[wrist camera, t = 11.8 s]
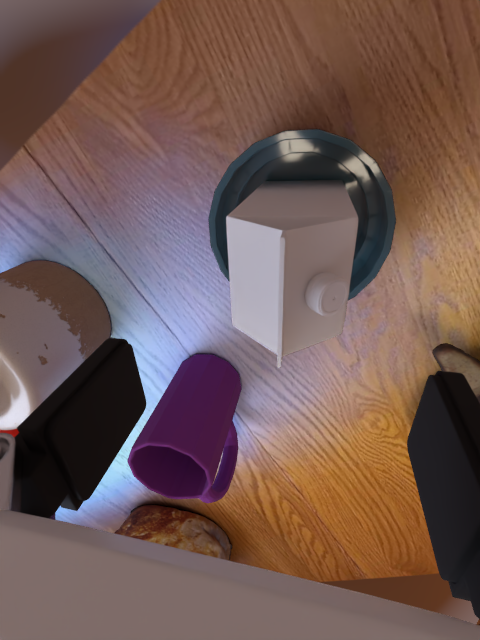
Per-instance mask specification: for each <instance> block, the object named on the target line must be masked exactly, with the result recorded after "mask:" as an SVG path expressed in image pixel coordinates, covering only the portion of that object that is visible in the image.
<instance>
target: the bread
mask: <svg viewBox="0 0 480 640" xmlns="http://www.w3.org/2000/svg"><path fill="white" fill-rule="evenodd" d="M114 534H118V535H123V536H127V537H131V538H136V539H140V540H144V541H148V542H153V543H157V544H161V545H165V546H169V547H174V548H178V549H182V550H186V551H190V552H195V553H199V554H203V555H207V556H211V557H215V558H220V559H224V560H228V561H229V560H230V555H231V554H230V553H231V551H230V549H232V545H231V544H229V538H228V537H227V536H226V534H225V533H224V531H223V530H222V529H221V528H220V527H218V526H217V525H216V524H215V523H214V522H212V521H210V520H208V519H207V518H205V517H203V516H200V515H198V514H194V513H191V512H187V511H180V510H178V509H175V508H171V507H164V506H157V505H145V506H141V507H137V508H135V509H133V510H132V511H131V514H130V516H129V517H128V518H127V520H126V521H125V522H124V523H123V525H122V526H121V527H120V529H119V530H117V531H116V532H115V533H114Z"/></svg>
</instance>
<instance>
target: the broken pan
mask: <svg viewBox="0 0 480 640" xmlns="http://www.w3.org/2000/svg"><path fill="white" fill-rule="evenodd" d="M432 352H433V355H434V357H435V359H436V360H437V362H438V364H439V365H440V367H441V370H442V371H447V372H457V373H462V374H463V375H464V376H465V378H466V379H467V381H468V383H469V385H470V387H471V388H472V390H473V392H474V394H475V396H476V397H477V399H478V401H479V403H480V361H478V360H477V359H475V358H474V357H472V356H470V355H469V354H467V353H465V352H464V351H462V350H461V349H459V348H457V347H455V346H453V345H451V344H448V343H444V344H440V345H439V346H437V347H436V348H435V349H434V350H433V351H432Z"/></svg>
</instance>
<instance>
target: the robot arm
mask: <svg viewBox="0 0 480 640" xmlns="http://www.w3.org/2000/svg"><path fill="white" fill-rule="evenodd" d="M145 408H146V399H145V395H144V391H143V387H142V383H141V379H140V375H139V371H138V368H137V364H136V360H135V356H134V352H133V348H132V346H131V345H130V344H128V342H127V341H126V340H125V339H116V338H108V339H106V340H105V341H104V342H103V343H102V344H101V345H100V346H99V347H98V348H97V349H96V350H95V351H94V352H93V353H92V354H91V355H90V356H89V357H88V358H87V359H86V360H85V361H84V362H83V363H82V364H81V365H80V366H79V367H78V368H77V369H76V370H75V371H74V372H73V373H72V374H71V375H70V376H69V377H68V378H67V379H66V380H65V381H64V382H63V383H62V384H61V385H60V386H59V387H58V388H57V389H56V390H54V391H53V392H52V393H51V394H50V395H49V396H48V397H47V398H46V399H45V400H44V401H43V402H42V403H41V404H40V405H39V406H38V407H37V408H36V409H35V410H34V411H33V412H32V413H31V414H30V415H29V416H28V417H27V418H26V419H25V420H24V421H23V422H22V423H21V424H20V425H19V426H18V427H17V430H18V431H19V433H18V434H17V435H16V436H15V437H13V436H12V435H11V434H8V433H0V640H480V403H479V401H478V399H477V397H476V396H475V394H474V392H473V390H472V388H471V387H470V385H469V383H468V381H467V379H466V378H465V376H464V375H463V374H462V373H457V372H447V371H437V373H436V374H435V375H430V376H429V377H428V379H427V382H426V385H425V388H424V391H423V394H422V397H421V400H420V403H419V406H418V409H417V412H416V415H415V418H414V421H413V424H412V427H411V430H410V433H409V436H408V441H407V447H408V453H409V457H410V461H411V465H412V468H413V472H414V476H415V480H416V484H417V488H418V492H419V496H420V500H421V504H422V508H423V511H424V515H425V519H426V523H427V527H428V531H429V535H430V539H431V543H432V547H433V551H434V554H435V558H436V562H437V566H438V570H439V573H440V575H441V577H442V579H443V580H447V581H449V585H450V589H451V592H452V596H453V597H455V598H460V599H464V600H468V601H471V603H472V607H473V610H474V613H475V615H476V616H477V617H478V618H479V621H478V622H477V624H473V623H469V622H466V621H463V620H460V619H457V618H454V617H450V616H447V615H443V614H439V613H436V612H432V611H428V610H425V609H421V608H417V607H413V606H409V605H406V604H402V603H398V602H394V601H390V600H387V599H383V598H379V597H375V596H371V595H367V594H363V593H359V592H355V591H351V590H347V589H343V588H339V587H335V586H331V585H326V584H322V583H318V582H314V581H310V580H306V579H302V578H298V577H294V576H290V575H286V574H282V573H278V572H274V571H269V570H265V569H261V568H257V567H253V566H249V565H245V564H240V563H236V562H232V561H228V560H224V559H220V558H215V557H211V556H207V555H203V554H199V553H195V552H190V551H186V550H182V549H178V548H174V547H169V546H165V545H161V544H157V543H153V542H148V541H144V540H140V539H136V538H131V537H127V536H123V535H118V534H114V533H110V532H106V531H101V530H97V529H93V528H88V527H84V526H80V525H76V524H71V523H67V522H63V521H58V520H55V512H56V511H57V509H58V508H59V506H60V505H61V507H63V508H67V509H71V510H76V511H77V510H78V509H79V507H80V506H81V504H82V503H83V501H85V500H87V499H89V498H90V496H91V495H92V493H93V492H94V490H95V489H96V487H97V486H98V484H99V482H100V481H101V479H102V478H103V476H104V474H105V473H106V471H107V470H108V468H109V466H110V465H111V463H112V462H113V460H114V458H115V457H116V455H117V454H118V452H119V450H120V449H121V447H122V446H123V444H124V443H125V441H126V439H127V438H128V436H129V435H130V433H131V431H132V430H133V428H134V427H135V425H136V423H137V422H138V420H139V419H140V417H141V415H142V414H143V412H144V410H145Z"/></svg>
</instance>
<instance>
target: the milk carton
mask: <svg viewBox="0 0 480 640" xmlns="http://www.w3.org/2000/svg"><path fill="white" fill-rule="evenodd" d="M226 228H227V246H228V262H229V279H230V296H231V313H232V324H233V326H234V327H235V328H237V329H238V330H240V331H241V332H243V333H245V334H246V335H248V336H249V337H251V338H252V339H254V340H255V341H257V342H258V343H260V344H261V345H263V346H264V347H266V348H267V349H269V350H270V351H272V352H273V353H275V354H276V355H277V368H281V363H282V357H284V356H286V355H289V354H291V353H294V352H297V351H299V350H302V349H305V348H307V347H310V346H312V345H315V344H318V343H320V342H323V341H326V340H328V339H331V338H334V337H336V336H339V335H341V333H342V331H343V327H344V321H345V315H346V308H347V301H348V296H349V287H350V279H351V272H352V265H353V258H354V251H355V244H356V237H357V228H358V216H357V213H356V211H355V208H354V206H353V204H352V202H351V199H350V197H349V195H348V193H347V190H346V188H345V186H344V183H343V181H342V180H311V181H265V182H264V183H262V184H261V185H260V186H259V187H258V188H257V189H256V190H255V191H254V192H253V193H252V194H250V195H249V196H248V197H247V198H246V199H245V200H244V201H243V202H242V203H241V204H240V205H239V206H237V207H236V208H235V209H234V210H233V211H232V212H231V213H230V214H229V215H228V216H226Z"/></svg>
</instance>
